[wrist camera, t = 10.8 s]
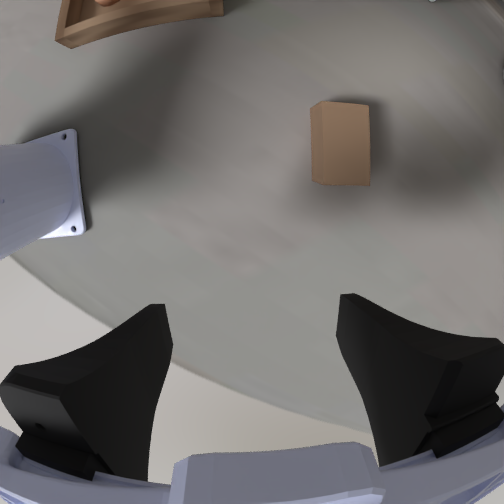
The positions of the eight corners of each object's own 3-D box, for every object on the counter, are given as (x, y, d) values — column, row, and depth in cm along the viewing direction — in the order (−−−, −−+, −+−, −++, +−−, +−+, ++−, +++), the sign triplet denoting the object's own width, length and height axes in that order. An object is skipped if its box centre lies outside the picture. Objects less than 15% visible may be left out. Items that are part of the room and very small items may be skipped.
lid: (241, 251, 21) (241, 270, 18) (232, 46, 16) (230, 25, 13) (402, 243, 22) (425, 258, 18) (401, 61, 17) (425, 50, 13)
